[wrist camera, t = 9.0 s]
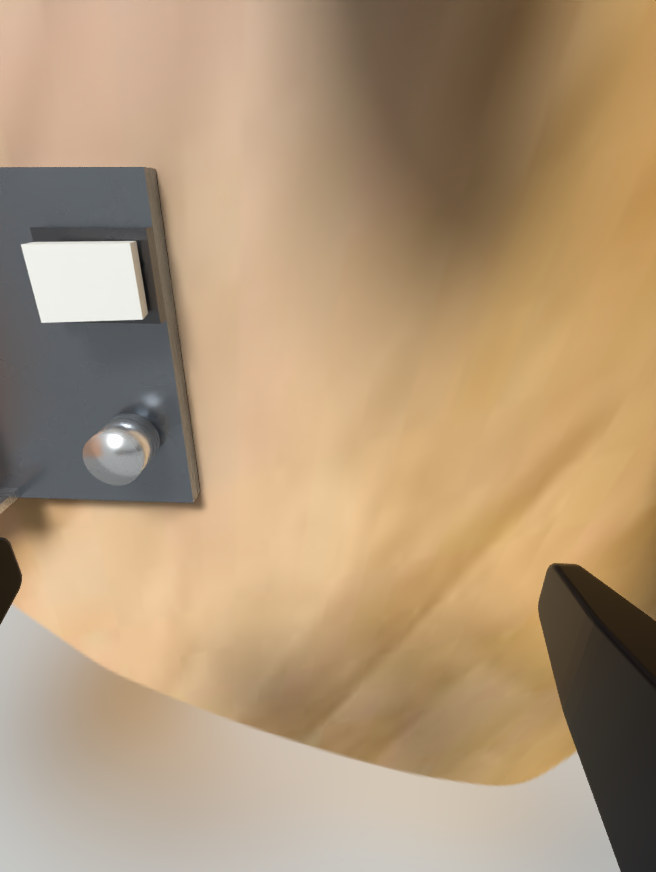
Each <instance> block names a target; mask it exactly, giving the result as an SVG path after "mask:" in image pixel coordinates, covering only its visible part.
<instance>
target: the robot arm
mask: <svg viewBox="0 0 656 872" xmlns="http://www.w3.org/2000/svg"><path fill="white" fill-rule="evenodd" d="M21 582H22V574H21V571H20V568H19V565H18V562H17V560H16V557H15V554H14V551H13V549H12V546H11V544H10V542H9V541H8V540H7V539H5V538H2V537H0V624H1V623H2V621H3V619H4V617H5V615H6V613H7V611H8V609H9V608H10V606H11V604H12V602H13V600H14V598H15V597H16V595H17V593H18V591H19V589H20V586H21ZM538 611H539V617H540V622H541V626H542V630H543V634H544V638H545V642H546V646H547V650H548V654H549V658H550V662H551V666H552V670H553V674H554V678H555V682H556V686H557V690H558V694H559V698H560V701H561V705H562V709H563V712H564V715H565V718H566V721H567V724H568V727H569V730H570V733H571V735H572V738H573V741H574V744H575V747H576V749H577V752H578V755H579V757H580V760H581V763H582V766H583V769H584V771H585V774H586V777H587V780H588V782H589V785H590V788H591V790H592V793H593V796H594V799H595V801H596V804H597V807H598V810H599V813H600V815H601V818H602V821H603V823H604V826H605V829H606V832H607V835H608V837H609V840H610V843H611V845H612V849H613V851H614V854H615V857H616V859H617V862H618V865H619V868H620V871H621V872H656V621H655V620H653V619H652V618H651V617H649V616H648V615H646V614H645V613H644V612H642V611H641V610H640V609H638V608H637V607H636V606H634V605H633V604H631V603H630V602H629V601H627V600H626V599H625V598H623V597H622V596H621V595H619V594H618V593H616V592H615V591H614V590H612V589H611V588H610V587H608V586H607V585H606V584H604V583H603V582H602V581H600V580H599V579H597V578H596V577H595V576H593V575H592V574H591V573H589V572H588V571H587V570H585V569H584V568H582V567H581V566H579V565H576V564H564V563H553V564H551V565H550V566H549V567H548V569H547V572H546V576H545V579H544V583H543V587H542V591H541V594H540V598H539V604H538Z"/></svg>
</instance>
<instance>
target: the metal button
mask: <svg viewBox="0 0 656 872" xmlns="http://www.w3.org/2000/svg"><path fill="white" fill-rule="evenodd" d="M159 446H160V437H159V433H158V431H157V429H156V428H155V426H154V425H153V424H152V423H151V422H150V421H149V420H148V419H146V418H145V417H143V416H141V415H138V414H134V413H122V414H119V415H117V416H115V417H114V418H113V419H112V420H111V421H110V422H108V423H107V424H106V425H105V426H104V427H103V428H102V429H101V430H99V431H98V432H97V433H96V434H95V435H94V436H93V437H92V438H90V439H89V440H88V441H87V442H86V444H85V446H84V448H83V461H84V463H85V466H86V467H87V469H88V470H89V472H90V473H91V474H92V475H93V476H94V477H96V478H97V479H99V480H100V481H102V482H104V483H107V484H110V485H125V484H128V483H131V482H132V481H134V480H135V479H136V478H137V476H138V475H139V474H140V473H141V471H142V470H143V469H144V468H145V466H146V465H147V464H148V463H149V461H150V460H151V459H152V458H153V456H154V455H155V454H156V453H157V451H158V449H159Z"/></svg>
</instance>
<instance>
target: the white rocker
mask: <svg viewBox="0 0 656 872" xmlns="http://www.w3.org/2000/svg"><path fill="white" fill-rule="evenodd" d="M21 247H22V251H23V255H24V259H25V262H26V266H27V270H28V274H29V278H30V281H31V285H32V289H33V293H34V296H35V300H36V304H37V308H38V312H39V315H40V319H41V323H52V322H83V321H114V320H143V319H144V318H145V316H146V315H147V314H148V310H147V304H146V297H145V291H144V285H143V279H142V273H141V267H140V261H139V255H138V249H137V243H136V241H79V242H31V243H26V244H21Z"/></svg>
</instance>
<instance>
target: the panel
mask: <svg viewBox="0 0 656 872" xmlns="http://www.w3.org/2000/svg"><path fill="white" fill-rule="evenodd" d="M79 241H136V243H137V249H138V255H139V261H140V267H141V273H142V279H143V285H144V291H145V297H146V304H147V310H148V314H147V315H146V316H145V318H144V319H143V320H114V321H83V322H52V323H41V319H40V315H39V312H38V308H37V304H36V300H35V296H34V293H33V289H32V285H31V281H30V278H29V274H28V270H27V266H26V262H25V259H24V255H23V251H22V247H21V244H26V243H31V242H79ZM122 413H134V414H138V415H141V416H143V417H145V418H146V419H148V420H149V421H150V422H151V423H152V424H153V425H154V426H155V428H156V429H157V431H158V433H159V437H160V446H159V449H158V451H157V453H156V454H155V455H154V456H153V458H152V459H151V460H150V461H149V463H148V464H147V465H146V466H145V468H144V469H143V470H142V471H141V473H140V474H139V475H138V476H137V478H136V479H135V480H134V481H132V482H131V483H128V484H125V485H110V484H107V483H104V482H102V481H100V480H99V479H97V478H96V477H94V476H93V475H92V474H91V473H90V472H89V470H88V469H87V467H86V466H85V463H84V461H83V448H84V446H85V444H86V442H87V441H88V440H89V439H90V438H92V437H93V436H94V435H95V434H96V433H97V432H98V431H99V430H101V429H102V428H103V427H104V426H105V425H106V424H107V423H108V422H110V421H111V420H112V419H113V418H114V417H115V416H117V415H119V414H122ZM199 492H200V486H199V479H198V472H197V465H196V457H195V450H194V443H193V436H192V429H191V422H190V414H189V407H188V400H187V393H186V386H185V378H184V371H183V364H182V357H181V350H180V342H179V335H178V328H177V321H176V314H175V307H174V299H173V292H172V285H171V278H170V271H169V263H168V256H167V249H166V242H165V235H164V227H163V220H162V213H161V206H160V199H159V192H158V184H157V177H156V170H155V169H153V168H146V167H1V168H0V514H1V513H2V512H3V511H4V510H5V509H7V508H8V507H9V506H10V505H11V504H12V503H13V502H15V501H16V500H17V499H18V498H19V497H22V498H53V499H84V500H116V501H147V502H178V503H194V501H195V500H196V498H197V496H198V494H199Z"/></svg>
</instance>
